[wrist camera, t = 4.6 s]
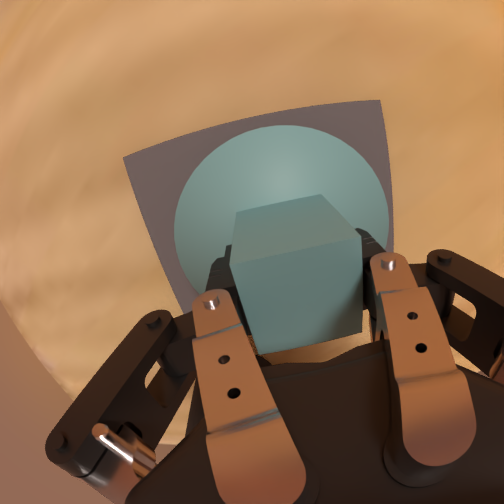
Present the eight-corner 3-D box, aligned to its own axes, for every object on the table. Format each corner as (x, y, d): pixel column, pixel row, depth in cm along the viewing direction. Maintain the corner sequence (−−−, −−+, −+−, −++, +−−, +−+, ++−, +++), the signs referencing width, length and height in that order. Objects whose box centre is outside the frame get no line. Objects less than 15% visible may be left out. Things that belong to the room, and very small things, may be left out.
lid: (368, 111, 11) (443, 112, 6) (381, 293, 16) (422, 360, 11) (151, 158, 12) (87, 186, 7) (214, 329, 17) (203, 408, 12)
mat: (375, 100, 13) (379, 99, 12) (388, 278, 18) (392, 282, 18) (127, 156, 14) (122, 157, 14) (191, 321, 19) (190, 326, 19)
